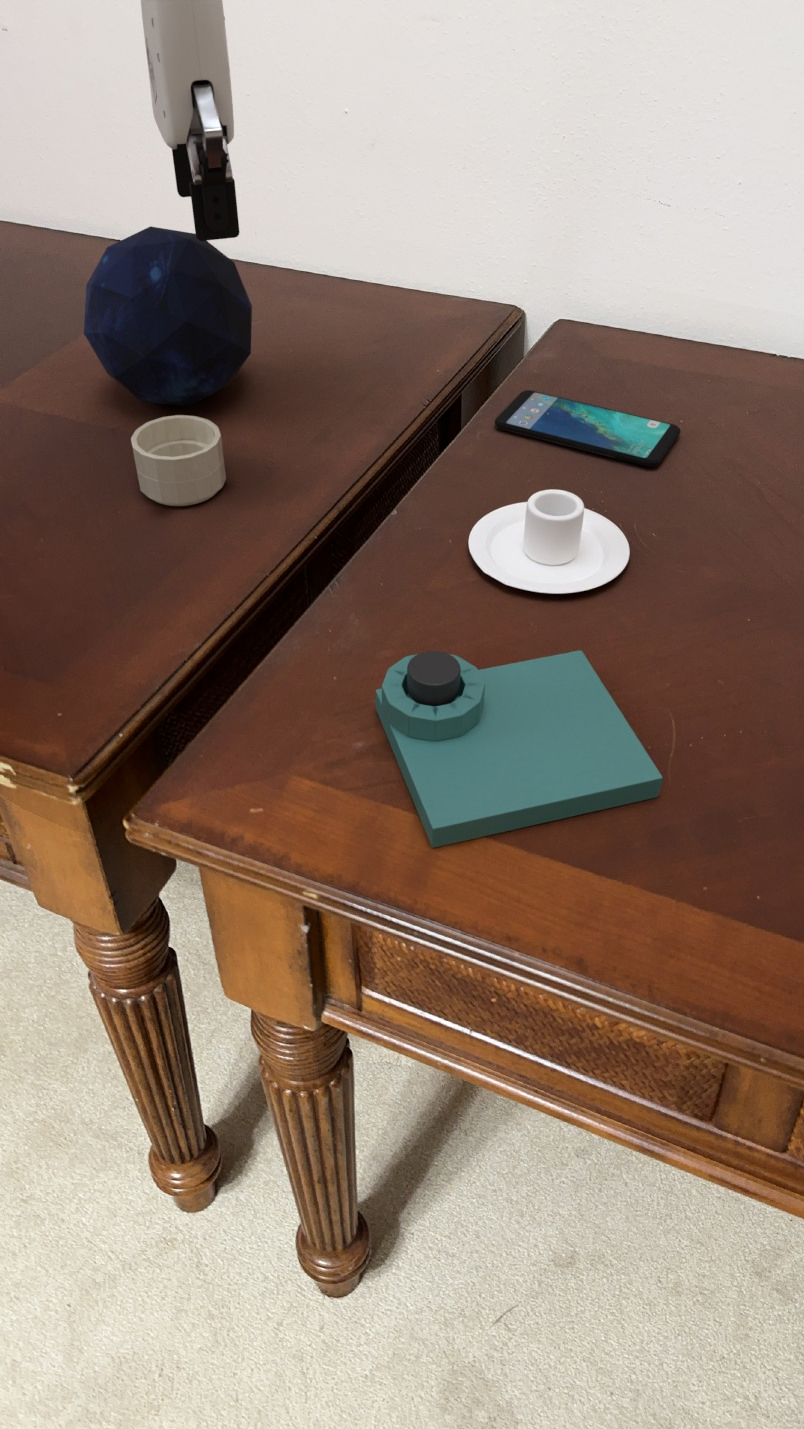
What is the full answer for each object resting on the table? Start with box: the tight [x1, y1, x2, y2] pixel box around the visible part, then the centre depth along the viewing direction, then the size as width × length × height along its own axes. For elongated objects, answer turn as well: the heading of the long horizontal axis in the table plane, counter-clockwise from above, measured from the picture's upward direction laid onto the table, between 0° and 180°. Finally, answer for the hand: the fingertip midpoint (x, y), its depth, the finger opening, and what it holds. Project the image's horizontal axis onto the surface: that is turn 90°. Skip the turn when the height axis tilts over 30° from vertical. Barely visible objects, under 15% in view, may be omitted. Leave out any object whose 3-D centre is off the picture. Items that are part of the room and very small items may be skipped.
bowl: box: [130, 414, 227, 507], centre depth 88 cm, size 7×7×4 cm
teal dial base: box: [375, 649, 664, 849], centre depth 67 cm, size 14×13×4 cm
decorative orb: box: [83, 225, 253, 407], centre depth 96 cm, size 14×15×15 cm
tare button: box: [407, 650, 461, 706], centre depth 66 cm, size 3×3×2 cm
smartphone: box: [494, 389, 681, 468], centre depth 96 cm, size 7×1×15 cm
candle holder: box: [468, 488, 631, 595], centre depth 81 cm, size 12×12×4 cm
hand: (207, 215), depth 86 cm, fingers open, 9 cm apart
